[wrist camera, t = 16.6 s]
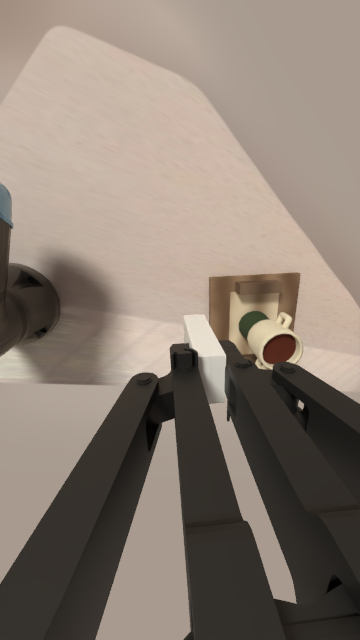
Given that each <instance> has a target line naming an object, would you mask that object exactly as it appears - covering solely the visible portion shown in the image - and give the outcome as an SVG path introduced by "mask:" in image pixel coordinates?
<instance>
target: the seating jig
mask: <svg viewBox="0 0 360 640" xmlns="http://www.w3.org/2000/svg"><path fill="white" fill-rule="evenodd" d="M299 280H300V273H281V274H262V275H243V276H225V277H209V325H210V327H211V329H212V331H213V332H214V334H215V336H216V338H217V340H230V341H231V342H233V343H234V344H235V345H236V347H237V348H238V350H239V351H240V353H241V354H242V356H243V357H244V358H245V359H249V360H251V361H253V362H254V363H255V362H256V360H257V356H256V355H255V354H254V353H253V351H252V350H251V348H250V347H249V344H248V340H247V339H246V338H244V337H243V336H242V334H241V333H240V331H239V322H240V320H241V317H243V316H244V315H245V314H246V313H248V312H251V311H261V312H262V313H264V314H265V315H266V316H267V317H268V318H269V319H270V320H276V319H277V317H278V315H279V314H280V313H281V312H284V313H286V314H288V315H289V316H291V317H292V322H291V324H290V326H289V329H290V330H291V331H293V328H294V320H295V312H296V304H297V296H298V288H299ZM284 321H285V319H283V321H282V323H281V324H283V323H284ZM261 365H263V364H262V363H261Z"/></svg>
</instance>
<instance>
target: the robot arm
mask: <svg viewBox="0 0 360 640" xmlns="http://www.w3.org/2000/svg"><path fill="white" fill-rule="evenodd" d="M11 229H13V223H12V199H11V195H10V193H9V191H8V190H7V188H6V187H5V186H4V185H3V184H2V183H0V357H1V356H2V355H3V354H5V353H6V352H7V351H9V350H10V349H11V348H13V347H14V346H17V345H22V344H27V343H31V342H34V341H36V340H38V339H40V338H42V337H43V336H45V335H46V334H47V333H48V332H50V331H51V330H52V329H53V327H54V326H55V325H56V323H57V321H58V318H59V313H60V304H59V299H58V296H57V293H56V291H55V289H54V288H53V286H52V285H51V283H50V282H49V281H48V280H47V279H46V278H45V277H44V276H43V275H42V274H40V273H39V272H37V271H36V270H34V269H32V268H30V267H27V266H25V265H21V264H15V263H9V251H10V236H11ZM183 318H184V343H183V344H173V345H172V346H171V347H170V359H171V372H170V373H169V374H168V375H166V376H164V377H161V378H158V377H157V375H155V374H153V373H140V374H137V375H135V376H133V377H132V378H131V379H130V381H129V382H128V384H127V385H126V387H125V389H124V390H123V392H122V393H121V395H120V396H119V398H118V400H117V401H116V403H115V405H114V406H113V407H112V409H111V411H110V412H109V414H108V415H107V417H106V418H105V420H104V422H103V423H102V425H101V426H100V428H99V429H98V431H97V433H96V434H95V436H94V437H93V439H92V441H91V442H90V444H89V445H88V447H87V449H86V450H85V451H84V453H83V455H82V456H81V458H80V459H79V461H78V462H77V464H76V466H75V467H74V469H73V471H72V472H71V474H70V475H69V477H68V478H67V480H66V481H65V483H64V485H63V486H62V488H61V490H60V491H59V492H58V494H57V496H56V497H55V499H54V500H53V502H52V503H51V505H50V507H49V508H48V510H47V511H46V513H45V514H44V516H43V518H42V519H41V521H40V522H39V524H38V525H37V527H36V529H35V530H34V532H33V534H32V535H31V537H30V538H29V540H28V541H27V543H26V545H25V546H24V548H23V549H22V551H21V552H20V554H19V555H18V557H17V559H16V560H15V562H14V563H13V565H12V566H11V568H10V570H9V571H8V573H7V574H6V576H5V578H4V579H3V581H2V582H1V584H0V640H95V638H96V635H97V632H98V629H99V625H100V622H101V619H102V616H103V613H104V609H105V606H106V603H107V600H108V597H109V594H110V590H111V587H112V584H113V581H114V578H115V574H116V571H117V568H118V565H119V561H120V558H121V555H122V552H123V549H124V546H125V542H126V539H127V536H128V533H129V530H130V527H131V523H132V520H133V517H134V514H135V511H136V507H137V504H138V501H139V498H140V494H141V492H142V488H143V485H144V482H145V479H146V476H147V472H148V469H149V466H150V463H151V459H152V456H153V453H154V450H155V447H156V444H157V440H158V437H159V434H160V431H161V428H162V422H165V421H168V420H171V419H173V418H175V429H176V442H177V455H178V467H179V481H180V494H181V507H182V520H183V533H184V546H185V559H186V571H187V585H188V598H189V613H190V627H191V632H190V633H189V634H188V635H187V636H186V638H184V640H360V404H359V403H357V402H355V401H354V400H352V399H351V398H349V397H347V396H346V395H344V394H343V393H341V392H340V391H338V390H336V389H335V388H333V387H332V386H330V385H328V384H327V383H325V382H324V381H322V380H320V379H319V378H317V377H316V376H314V375H312V374H311V373H309V372H308V371H306V370H305V369H303V368H301V367H300V366H298V365H296V364H293V363H290V362H277V363H275V364H274V365H273V369H272V370H266V369H259V368H258V367H257V365H256V364H255V363H254V362H253V361H251V360H249V359H245V358H244V357H243V356H242V354H241V353H240V351H239V350H238V348H237V347H236V345H235V344H234V343H233V342H231V341H230V340H217V338H216V336H215V334H214V332H213V331H212V329H211V327H210V325H209V323H208V321H207V320H206V318H205V316H204V314H200V315H184V316H183ZM225 394H226V396H227V399H228V401H227V421H229V419H230V416H231V419H232V422H233V424H234V427H235V429H236V432H237V435H238V437H239V440H240V442H241V445H242V448H243V450H244V453H245V456H246V458H247V461H248V463H249V466H250V468H251V471H252V474H253V476H254V479H255V482H256V484H257V487H258V489H259V492H260V495H261V497H262V500H263V503H264V505H265V508H266V510H267V513H268V515H269V518H270V520H271V523H272V526H273V529H274V531H275V534H276V536H277V539H278V542H279V544H280V547H281V550H282V552H283V555H284V557H285V560H286V562H287V565H288V568H289V570H290V573H291V576H292V579H293V584H294V589H295V595H296V602H297V604H295V603H290V602H286V601H282V600H277V599H273V596H272V592H271V590H270V586H269V584H268V580H267V576H266V574H265V570H264V567H263V564H262V560H261V557H260V554H259V551H258V548H257V544H256V541H255V538H254V535H253V533H252V530H251V527H250V525H249V524H248V522H247V521H244V520H243V518H242V516H241V513H240V510H239V506H238V503H237V499H236V496H235V492H234V489H233V486H232V482H231V479H230V476H229V472H228V469H227V465H226V462H225V458H224V454H223V451H222V448H221V444H220V441H219V437H218V434H217V430H216V427H215V424H214V420H213V417H212V413H211V410H210V406H209V404H211V403H224V402H225ZM299 400H300V401H302V402H303V403H304V408H303V410H302V409H301V408H299V407H298V402H299Z"/></svg>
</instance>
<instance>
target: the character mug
mask: <svg viewBox="0 0 360 640" xmlns="http://www.w3.org/2000/svg"><path fill="white" fill-rule="evenodd" d="M283 319H285V321H284V323H283V324H281V323H282V321H283ZM291 322H292V317H291V316H289V315H288V314H286V313H284V312H281V313H280V314H279V315H278V317H277V319H276V320H270V319H269V318H268V317H267V316H266V315H265V314H264V313H262V312H261V311H251V312H248V313H246V314H245V315H244V316H243V317H241V320H240V322H239V331H240V333H241V334H242V336H243V337H244V338H246V339H247V340H248V344H249V347H250V348H251V350H252V351H253V353H254V354H255V355H256V356H257V360H256V362H255V364H256V365H257V367H258V368H259V369H266V370H267V368H268V369H270V370H272V369H273V365H274V364H275V363H277V362H290V363H293V364H296V363H297V362H298V361H299V360H300V358H301V356H302V353H303V343H302V341H301V339H300V338H299V336H298V335H297V334H295V333H294V332H293V331H291V330H290V329H289V326H290V324H291ZM261 363H262V364H263V365H261Z"/></svg>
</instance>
